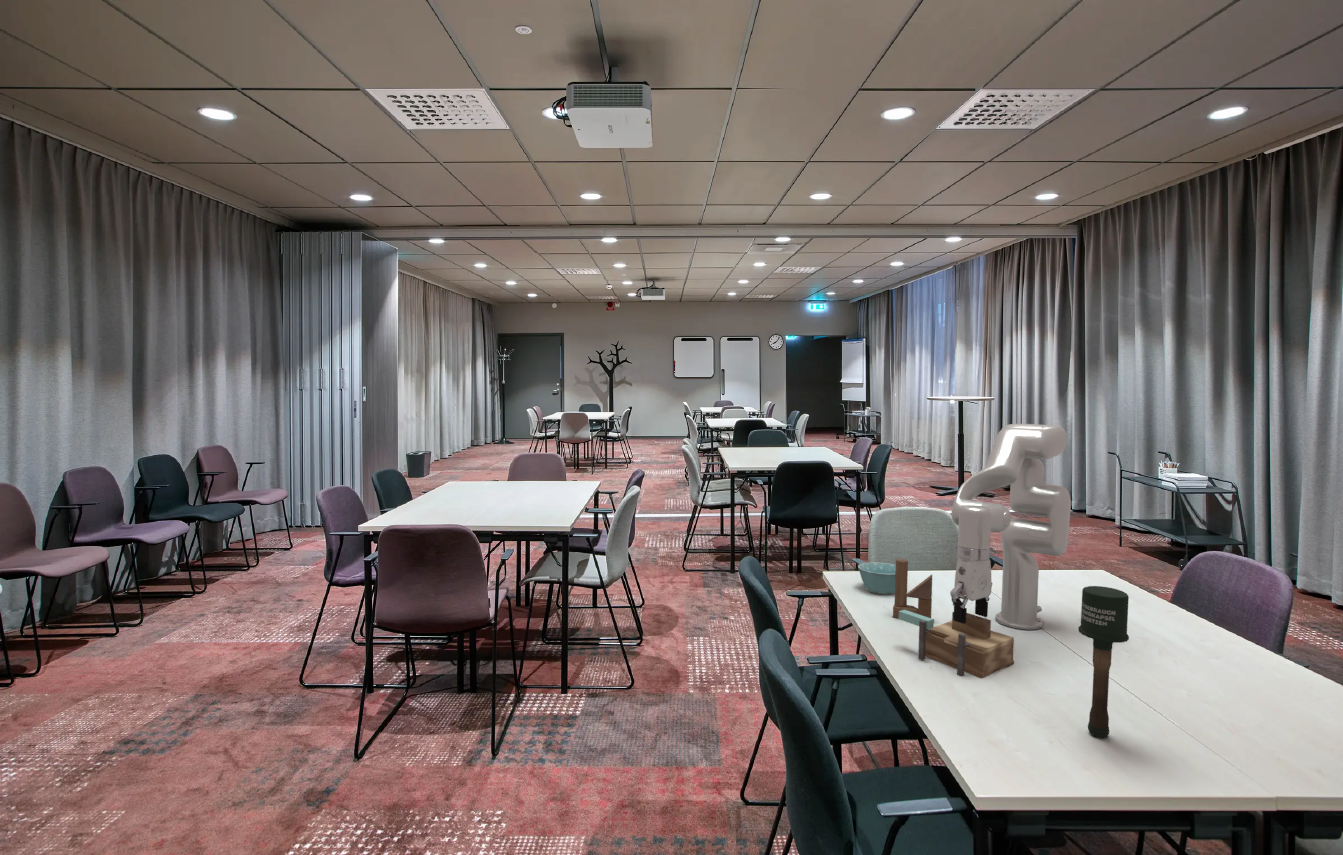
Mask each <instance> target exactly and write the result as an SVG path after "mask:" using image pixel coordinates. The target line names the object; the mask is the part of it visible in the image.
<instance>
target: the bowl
mask: <svg viewBox="0 0 1343 855" xmlns="http://www.w3.org/2000/svg"><path fill="white" fill-rule="evenodd" d="M857 567H858V568H857V569H858V571H859V575H860V578H861V580H862V583H863V586H864V588H865V589H866V590H867V591H869V592H870V593H872V594H875V595H876V594H877V595H882V596H883V595H884V596H885V595H893V594H895V567H896V563H895V564H893V563H889V562H888V563H887V562H878V561H877V562H875V561H873V562H864V563H859V564H858V565H857Z"/></svg>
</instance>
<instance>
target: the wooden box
mask: <svg viewBox="0 0 1343 855" xmlns="http://www.w3.org/2000/svg"><path fill="white" fill-rule="evenodd" d="M918 627H919V628H918V653H917V654H918V657H917V659H918V660H920V661H921V662H922V661H925V660H926V658H928V659H930V660H933V661H935V662H938V663H941V664H943V665H945V666H948V667H951V668H953V669H956V675H957V676H960V677H963V676H965V673H966V674H969V675H972V676H975V677H976V678H980V679H983V678H985V677H987V676H990V675H992V674H994V673H997V672H999V671H1002V670H1003V669H1006V668H1008V667H1010V666H1012V665H1015V660H1014V647H1015V646H1014V645H1015V641H1014V642H1011V643H1009V644H1007V645H1004V646H1002V647H999V648H997V649H994V650H992V651H989V652H984V651H982V652H981V651H979V650H976V649H973V648H970V647H967V646H970V644H969V643H966V635H965V634H963V633H960V634H958V646H954V645H951V644H948V643H946V642H944V638H942V637H939V636H936V635H935V634H933V633H930V632H931V630H929V629H926V621H924V620H920V621H919V626H918Z"/></svg>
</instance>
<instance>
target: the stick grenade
mask: <svg viewBox="0 0 1343 855" xmlns="http://www.w3.org/2000/svg"><path fill="white" fill-rule="evenodd" d="M1081 591H1082V592H1081V606H1080V607H1081V608H1080V609H1081V610H1080V625H1079V626H1078V628H1077V629H1078V632H1079V633H1080V634H1081V635H1082V636H1085V637H1087V638H1089V639H1092V666H1093V671H1092V672H1093V674H1092V676H1093V678H1092V695H1091V697H1092V698H1091V707H1090V710H1089V715H1088V716H1089V718H1088V719H1089V720H1088V724H1087V730H1088V733H1089V734H1090V735H1091V736H1093V737H1094V738H1097V739H1106V738H1108V736H1109V735H1110V727H1109V723H1110V722H1109V720H1110V717H1109V712H1108V704H1109V703H1108V702H1109V683H1110V680H1109V679H1110V671H1111V670H1110V669H1111V666H1112V654H1113V653H1112V652H1113V644H1115V643H1116V644H1117V643H1125V642H1128V641H1129V640H1130V636H1129V634H1128V617H1129V598H1130V597H1129V595H1128V593H1127V592H1125V591H1122V590H1120V589H1117V588H1114V587H1113V588H1112V587H1108V586H1101V585H1100V586H1099V585H1087V586H1084V587H1083V588H1082V590H1081Z"/></svg>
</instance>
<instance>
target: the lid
mask: <svg viewBox="0 0 1343 855" xmlns="http://www.w3.org/2000/svg"><path fill="white" fill-rule="evenodd" d="M951 618H952V620H950V621H947V622H945V623H941V624H939V625H935V626H933V628H931V629H929V630H931V632H930V633H933V634H935V635H936V636H939V637H942V638H944V642H946V643H948V644H951V645H954V646H958V634H960V633H963V634H965V635H966V643H969V644H970V646H967V647H970V648H973V649H976V650H979V651H981V652H982V651H984V652H989V651H992V650H994V649H997V648H999V647H1002V646H1004V645H1007V644H1009V643H1011V642H1014V643H1015V637H1014V636H1013V637H1012V636H1010V635H1006V634H1003V633H1001V632H998V631H994V630H992V629H991V628H992V626H991V625H992V620H991V619H988V618H987V617H983V616H980V615H977V614H974V613H973V614H972V613H970V612H967V614H966V623H965V624H963V623H960V622H957V621H954V619H953V618H954V611H952V617H951Z"/></svg>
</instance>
